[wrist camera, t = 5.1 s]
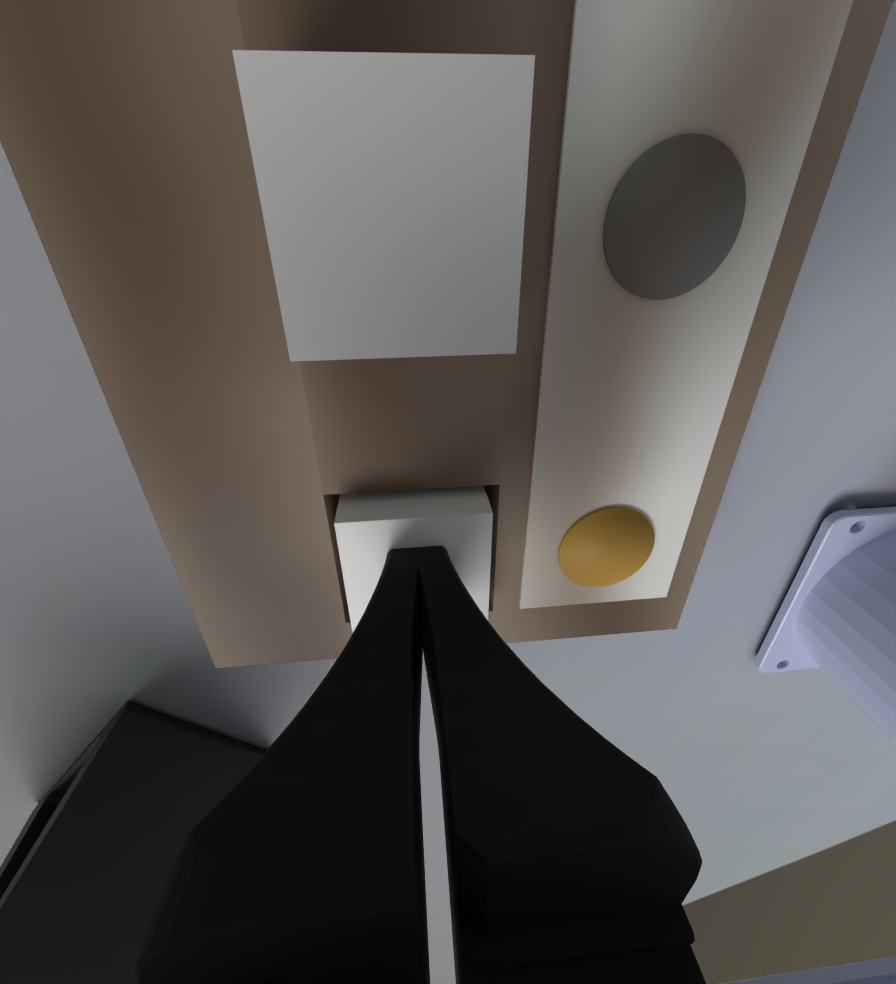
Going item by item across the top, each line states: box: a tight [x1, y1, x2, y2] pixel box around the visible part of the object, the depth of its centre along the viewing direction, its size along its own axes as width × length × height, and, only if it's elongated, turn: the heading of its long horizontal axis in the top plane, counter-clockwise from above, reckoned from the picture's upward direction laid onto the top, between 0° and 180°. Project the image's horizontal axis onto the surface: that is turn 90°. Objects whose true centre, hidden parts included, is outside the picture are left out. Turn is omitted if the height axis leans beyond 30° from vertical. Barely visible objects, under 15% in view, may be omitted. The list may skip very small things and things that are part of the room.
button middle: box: [232, 50, 535, 362], centre depth 8 cm, size 4×4×3 cm
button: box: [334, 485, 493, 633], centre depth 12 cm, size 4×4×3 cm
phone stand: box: [0, 702, 266, 984], centre depth 15 cm, size 9×6×12 cm, turn 137°
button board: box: [0, 0, 893, 668], centre depth 9 cm, size 14×22×3 cm, turn 1°
